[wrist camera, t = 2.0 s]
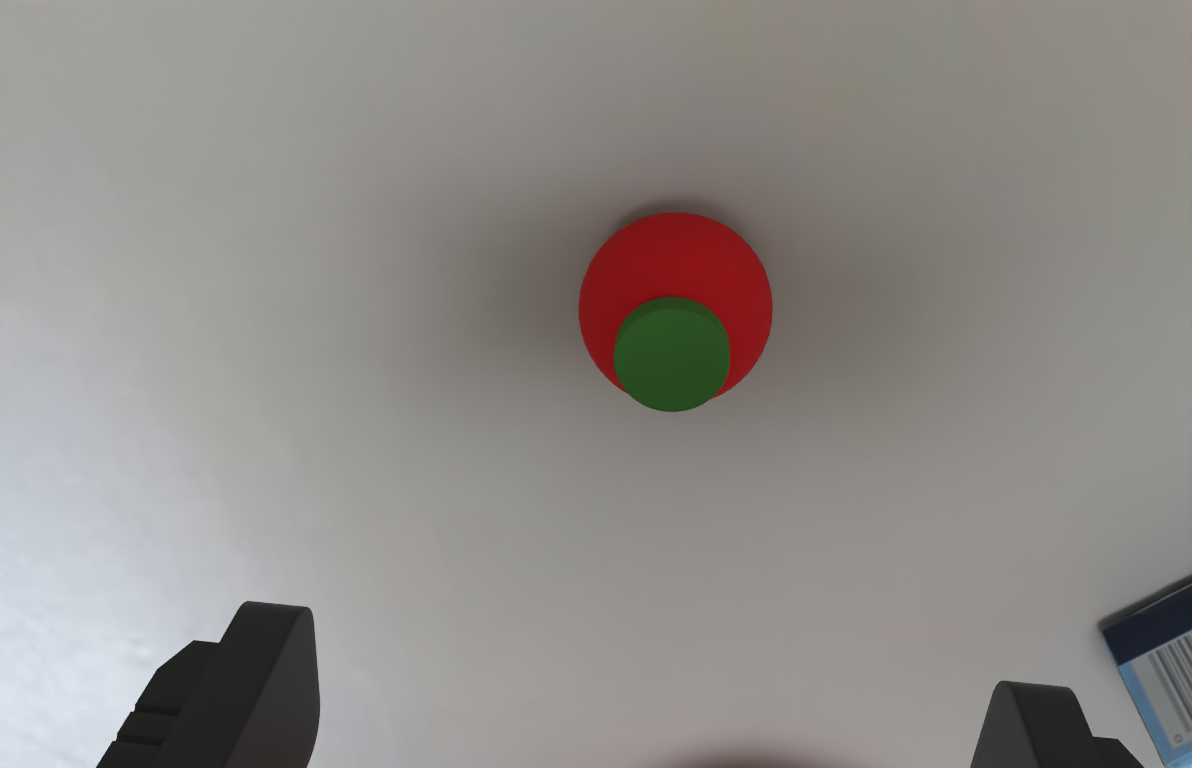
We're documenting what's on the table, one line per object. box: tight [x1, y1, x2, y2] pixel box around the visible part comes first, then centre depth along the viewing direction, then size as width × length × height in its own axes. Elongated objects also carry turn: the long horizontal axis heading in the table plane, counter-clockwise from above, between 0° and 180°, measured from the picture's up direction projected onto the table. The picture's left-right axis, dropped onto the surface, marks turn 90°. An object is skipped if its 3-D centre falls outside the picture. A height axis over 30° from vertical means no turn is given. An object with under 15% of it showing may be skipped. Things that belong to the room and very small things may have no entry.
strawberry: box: [579, 212, 773, 412], centre depth 23 cm, size 4×4×4 cm
